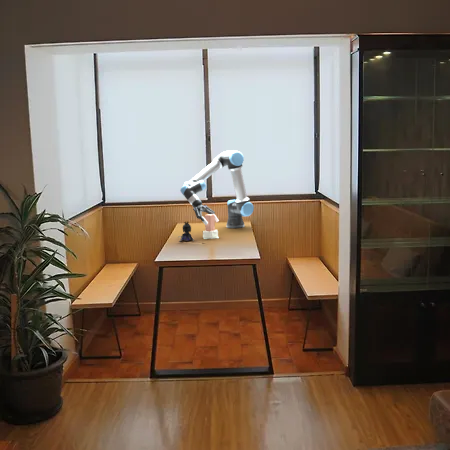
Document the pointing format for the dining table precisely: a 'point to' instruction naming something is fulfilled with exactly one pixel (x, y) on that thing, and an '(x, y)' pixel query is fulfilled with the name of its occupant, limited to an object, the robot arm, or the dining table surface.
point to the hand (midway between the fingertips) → (212, 222)
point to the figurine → (186, 232)
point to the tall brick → (210, 222)
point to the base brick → (210, 234)
